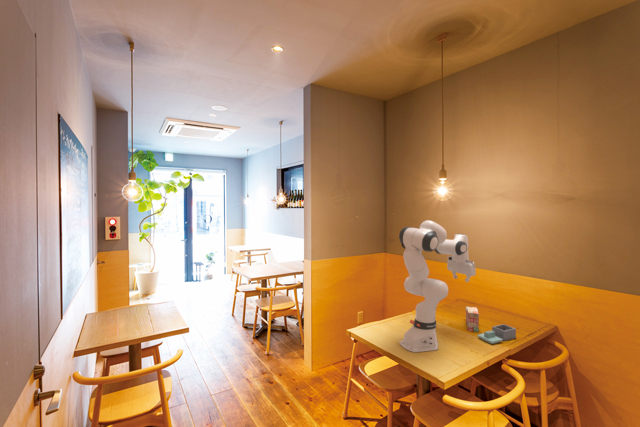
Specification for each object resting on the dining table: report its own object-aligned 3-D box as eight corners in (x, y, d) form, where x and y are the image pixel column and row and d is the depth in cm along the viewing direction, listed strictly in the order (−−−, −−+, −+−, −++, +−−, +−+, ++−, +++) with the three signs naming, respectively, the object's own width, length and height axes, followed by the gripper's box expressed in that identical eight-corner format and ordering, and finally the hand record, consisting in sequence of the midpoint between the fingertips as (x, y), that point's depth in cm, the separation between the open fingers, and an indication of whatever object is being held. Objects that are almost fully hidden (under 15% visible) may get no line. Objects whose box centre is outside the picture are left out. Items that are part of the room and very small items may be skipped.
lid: (502, 342, 184) (502, 334, 183) (492, 345, 180) (492, 336, 180) (487, 336, 193) (487, 327, 193) (477, 338, 190) (477, 329, 190)
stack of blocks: (465, 319, 221) (465, 302, 221) (475, 320, 219) (475, 303, 219) (468, 331, 202) (468, 312, 201) (478, 332, 199) (478, 313, 199)
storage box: (504, 341, 186) (504, 331, 186) (492, 336, 193) (492, 326, 193) (515, 338, 189) (515, 328, 189) (503, 333, 197) (503, 324, 197)
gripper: (478, 260, 192) (478, 283, 193) (452, 256, 211) (452, 276, 212) (470, 261, 190) (470, 284, 190) (445, 256, 209) (445, 277, 209)
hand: (461, 280), depth 201 cm, fingers open, 8 cm apart
